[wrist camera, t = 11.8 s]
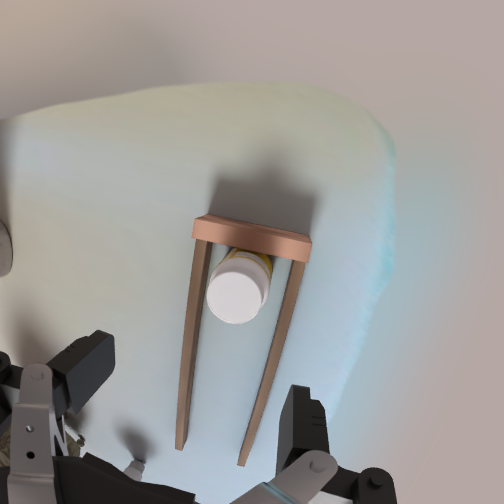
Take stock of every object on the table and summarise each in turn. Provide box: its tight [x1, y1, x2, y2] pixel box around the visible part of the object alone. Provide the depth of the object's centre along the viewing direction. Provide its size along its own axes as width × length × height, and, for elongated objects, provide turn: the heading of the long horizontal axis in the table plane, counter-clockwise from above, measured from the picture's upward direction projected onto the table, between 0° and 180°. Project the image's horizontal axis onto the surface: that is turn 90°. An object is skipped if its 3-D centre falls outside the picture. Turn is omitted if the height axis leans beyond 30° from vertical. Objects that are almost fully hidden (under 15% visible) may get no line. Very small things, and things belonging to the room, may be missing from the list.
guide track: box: [175, 214, 312, 467], centre depth 30 cm, size 10×32×4 cm, turn 169°
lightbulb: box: [123, 460, 145, 482], centre depth 34 cm, size 6×6×11 cm
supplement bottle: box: [207, 247, 273, 324], centre depth 25 cm, size 5×5×8 cm
